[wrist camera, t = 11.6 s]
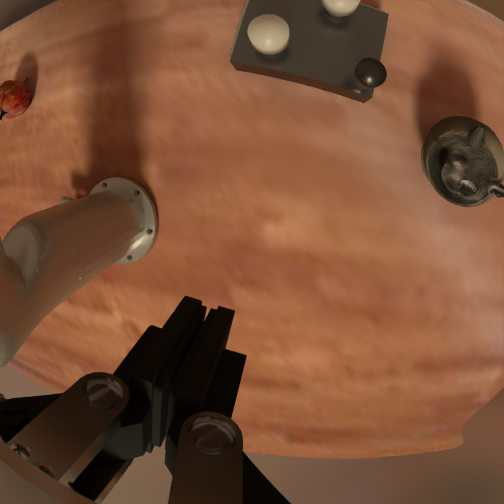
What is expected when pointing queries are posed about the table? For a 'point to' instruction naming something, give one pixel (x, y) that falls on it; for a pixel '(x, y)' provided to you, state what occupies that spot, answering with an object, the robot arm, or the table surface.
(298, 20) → the mount
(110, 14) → the table surface
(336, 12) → the knob
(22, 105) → the red round fruit
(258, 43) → the knob
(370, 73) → the dark brown round knob
